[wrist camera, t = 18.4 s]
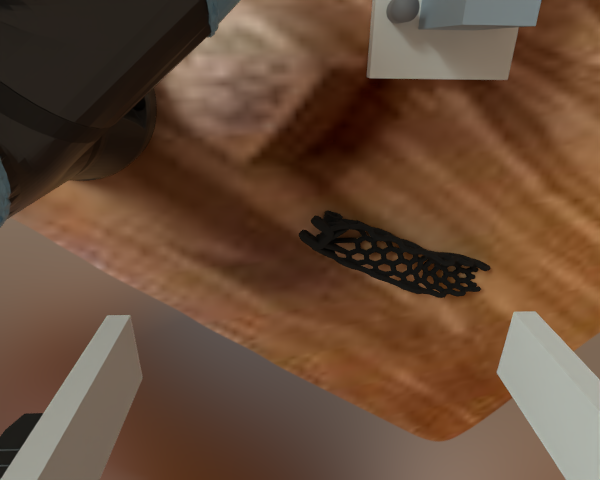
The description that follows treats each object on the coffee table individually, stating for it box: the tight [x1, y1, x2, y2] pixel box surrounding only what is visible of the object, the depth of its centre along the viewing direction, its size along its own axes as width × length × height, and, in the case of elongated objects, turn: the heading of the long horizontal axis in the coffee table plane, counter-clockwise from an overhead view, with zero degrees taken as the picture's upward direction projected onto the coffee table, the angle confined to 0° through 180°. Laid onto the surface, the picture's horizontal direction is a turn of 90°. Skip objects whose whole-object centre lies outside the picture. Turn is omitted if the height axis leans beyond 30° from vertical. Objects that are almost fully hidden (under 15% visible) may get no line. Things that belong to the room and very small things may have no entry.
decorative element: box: [299, 211, 491, 298], centre depth 45 cm, size 22×5×6 cm, turn 72°
